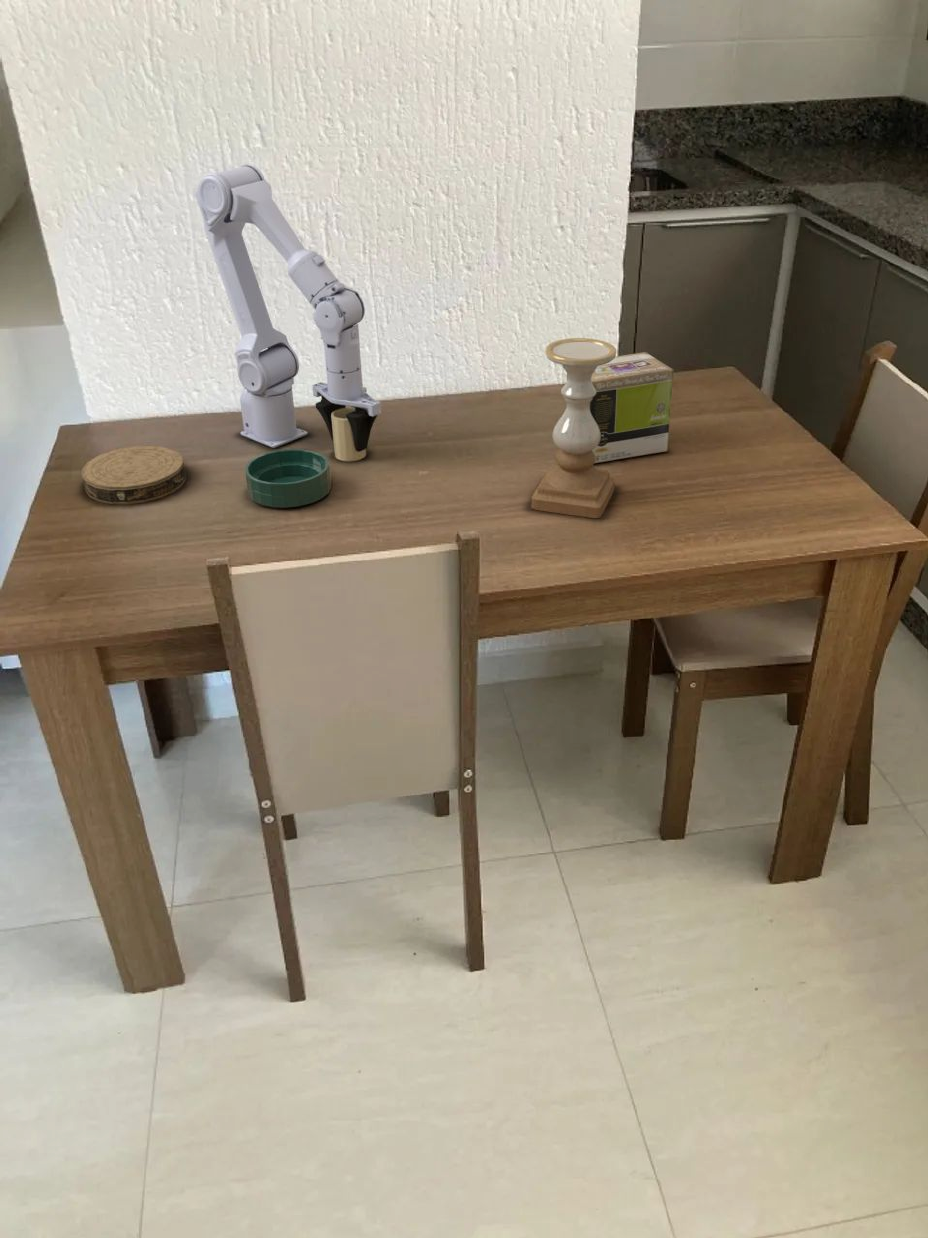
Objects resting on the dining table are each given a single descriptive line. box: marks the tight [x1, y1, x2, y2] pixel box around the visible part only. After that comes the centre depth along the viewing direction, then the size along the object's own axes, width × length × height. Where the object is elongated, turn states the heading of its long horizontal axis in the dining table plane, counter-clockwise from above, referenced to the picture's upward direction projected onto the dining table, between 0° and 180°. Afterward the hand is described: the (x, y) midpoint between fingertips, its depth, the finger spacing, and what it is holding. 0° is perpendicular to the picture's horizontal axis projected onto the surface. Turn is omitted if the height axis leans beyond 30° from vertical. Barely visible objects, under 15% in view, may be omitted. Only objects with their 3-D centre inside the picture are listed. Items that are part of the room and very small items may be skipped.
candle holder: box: [530, 337, 617, 519], centre depth 153 cm, size 11×11×24 cm
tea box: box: [565, 351, 674, 464], centre depth 171 cm, size 15×10×15 cm, turn 108°
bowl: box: [244, 448, 332, 509], centre depth 162 cm, size 13×13×4 cm
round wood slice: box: [81, 445, 187, 505], centre depth 166 cm, size 16×16×3 cm
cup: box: [331, 407, 367, 462], centre depth 172 cm, size 5×5×8 cm
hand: (350, 445), depth 173 cm, fingers closed on cup, 5 cm apart
